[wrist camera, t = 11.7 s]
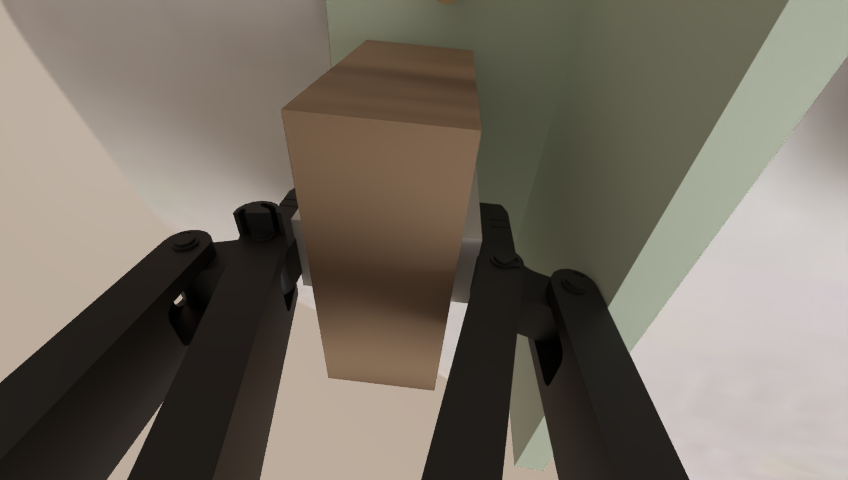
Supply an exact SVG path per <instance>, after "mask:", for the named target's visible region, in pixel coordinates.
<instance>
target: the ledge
mask: <svg viewBox="0 0 848 480" xmlns="http://www.w3.org/2000/svg"><path fill="white" fill-rule="evenodd" d="M326 12H327V23H328V35H329V46H330V58H331V68H332V67H334V66H335V65H336V64H337V63H339V62H340V61H341V60H342V59H343V58H345V57H346V56H347V55H348V54H350V53H351V52H352V51H353V50H355V49H356V48H357V47H358V46H359V45H361V44H362V43H363V42H364V41H366V40H375V41H385V42H394V43H404V44H414V45H424V46H434V47H444V48H453V49H463V50H472V51H473V60H474V68H475V77H476V85H477V94H478V103H479V111H480V120H481V128H482V132H481V138H480V143H479V149H478V154H477V160H476V168H477V180H478V193H479V202H481V203H491V204H500V205H502V206H503V207H504V209H505V210H506V211H507V212H508V215H509V220H510V221H509V223H510V226H511V231H512V236H513V241H514V246H515V251H516V253H517V254H518V255H519V256H520V257H521V258H522V259H523V262H524V266H526V267H527V268H529V269H531V270H533V271H535V272H538V273H540V274H543V275H546V276H549V277H551V275H552V274H553V272H554V271H557V270H559V269H572V270H577V271H579V272H581V273H583V274H586V275H587V276H588V277H589V278H591V279H592V280H593V281H594V282H595V284H596V285H597V287H598V289H599V291H600V293H601V295H602V297H603V299H604V301H605V303H606V306H607V308H608V310H609V312H610V314H611V316H612V318H613V320H614V322H615V324H616V327H617V329H618V331H619V333H620V335H621V337H622V339H623V341H624V343H625V345H626V348H627V350H628V352H629V353H630V352H631V350H632V349H633V348H634V346H635V345H636V344H637V342H638V341H639V339H640V338H641V337H642V335H643V334H644V333H645V331H646V330H647V329H648V327H649V326H650V324H651V323H652V322H653V320H654V319H655V318H656V316H657V315H658V314H659V312H660V311H661V309H662V308H663V307H664V305H665V304H666V303H667V301H668V300H669V299H670V297H671V296H672V294H673V293H674V292H675V290H676V289H677V288H678V286H679V285H680V284H681V282H682V281H683V279H684V278H685V277H686V275H687V274H688V273H689V271H690V270H691V269H692V267H693V266H694V264H695V263H696V262H697V260H698V259H699V258H700V256H701V255H702V254H703V252H704V251H705V249H706V248H707V247H708V245H709V244H710V243H711V241H712V240H713V239H714V237H715V236H716V234H717V233H718V232H719V230H720V229H721V228H722V226H723V225H724V224H725V222H726V221H727V219H728V218H729V217H730V215H731V214H732V213H733V211H734V210H735V209H736V207H737V206H738V204H739V203H740V202H741V200H742V199H743V198H744V196H745V195H746V194H747V192H748V191H749V189H750V188H751V187H752V185H753V184H754V183H755V181H756V180H757V179H758V177H759V176H760V174H761V173H762V172H763V170H764V169H765V168H766V166H767V165H768V164H769V162H770V161H771V160H772V158H773V157H774V155H775V154H776V153H777V151H778V150H779V149H780V147H781V146H782V145H783V143H784V142H785V140H786V139H787V138H788V136H789V135H790V134H791V132H792V131H793V130H794V128H795V127H796V125H797V124H798V123H799V121H800V120H801V119H802V117H803V116H804V115H805V113H806V112H807V110H808V109H809V108H810V106H811V105H812V104H813V102H814V101H815V100H816V98H817V97H818V95H819V94H820V93H821V91H822V90H823V89H824V87H825V86H826V85H827V83H828V82H829V80H830V79H831V78H832V76H833V75H834V74H835V72H836V71H837V70H838V68H839V67H840V65H841V64H842V63H843V61H844V60H845V59H846V57H847V56H848V0H326ZM510 419H511V431H512V442H513V454H514V466H515V467H522V468H529V469H536V470H542V471H543V470H544V469H545V468H546V466H547V465H548V463H549V462H550V461H551V459H552V458H553V457H554V456H553V451H552V447H551V442H550V438H549V433H548V429H547V424H546V419H545V415H544V410H543V406H542V401H541V397H540V392H539V388H538V383H537V378H536V374H535V369H534V365H533V360H532V356H531V351H530V347H529V342H528V337H525V336H523V335H520V334H517V342H516V351H515V361H514V371H513V380H512V390H511V399H510Z"/></svg>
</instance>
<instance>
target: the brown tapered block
mask: <svg viewBox="0 0 848 480" xmlns="http://www.w3.org/2000/svg"><path fill="white" fill-rule="evenodd" d="M281 112H282V118H283V123H284V129H285V135H286V140H287V146H288V152H289V157H290V163H291V169H292V174H293V180H294V185H295V191H296V197H297V202H298V208H299V214H300V219H301V225H302V231H303V236H304V242H305V248H306V253H307V259H308V265H309V270H310V276H311V282H312V287H313V293H314V299H315V304H316V310H317V316H318V321H319V327H320V332H321V338H322V344H323V349H324V354H325V361H326V366H327V372H328V378H334V379H343V380H351V381H360V382H368V383H376V384H384V385H393V386H400V387H409V388H417V389H426V390H434V389H435V383H436V378H437V373H438V367H439V362H440V356H441V351H442V345H443V340H444V334H445V329H446V323H447V318H448V313H449V307H450V302H451V296H452V291H453V285H454V280H455V274H456V269H457V263H458V258H459V252H460V247H461V242H462V236H463V231H464V225H465V220H466V214H467V209H468V203H469V198H470V192H471V187H472V181H473V176H474V170H475V165H476V160H477V154H478V149H479V143H480V138H481V132H482V128H481V120H480V111H479V103H478V94H477V85H476V77H475V68H474V60H473V51H472V50H463V49H453V48H444V47H434V46H424V45H414V44H404V43H394V42H385V41H375V40H366V41H364V42H363V43H362V44H361V45H359V46H358V47H357V48H356V49H355V50H353V51H352V52H351V53H350V54H348V55H347V56H346V57H345V58H343V59H342V60H341V61H340V62H339V63H337V64H336V65H335V66H334V67H332V68H331V69H330V70H329V71H328V72H326V73H325V74H324V75H323V76H321V77H320V78H319V79H318V80H317V81H315V82H314V83H313V84H312V85H310V86H309V87H308V88H307V89H306V90H304V91H303V92H302V93H301V94H299V95H298V96H297V97H296V98H294V99H293V100H292V101H291V102H290V103H288V104H287V105H286V106H285V107H283V108H282V109H281Z"/></svg>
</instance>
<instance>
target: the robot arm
mask: <svg viewBox="0 0 848 480" xmlns="http://www.w3.org/2000/svg"><path fill="white" fill-rule="evenodd" d="M233 215H234V218H235V221H236V224H237V228H238V231H239V234H240V237H239V239H238V240H233V241H224V242H213V241H212V238H211V236H210V235H209V234H208V233H207V232H204V231H201V230H189V231H183V232H180V233H177V234H175V235H172V236H170V237H169V238H167V239H166V240H164V241H163V242H162V243H161V244H160V245H158V246H157V247H156V248H155V249H154V250H153V251H152V252H150V253H149V254H148V255H147V256H146V257H145V258H143V259H142V260H141V261H140V262H139V263H138V264H137V265H136V266H134V267H133V268H132V269H131V270H130V271H128V272H127V273H126V274H125V275H124V276H123V277H122V278H120V279H119V280H118V281H117V282H116V283H115V284H114V285H112V286H111V287H110V288H109V289H108V290H107V291H105V292H104V293H103V294H102V295H101V296H100V297H99V298H97V299H96V300H95V301H94V302H93V303H92V304H90V305H89V306H88V307H87V308H86V309H85V310H84V311H82V312H81V313H80V314H79V315H78V316H77V317H76V318H74V319H73V320H72V321H71V322H70V323H69V324H67V325H66V326H65V327H64V328H63V329H62V330H61V331H59V332H58V333H57V334H56V335H55V336H54V337H52V338H51V339H50V340H49V341H48V342H47V343H46V344H44V346H42V347H41V348H40V349H39V350H38V351H36V352H35V353H34V354H33V355H32V356H31V357H29V358H28V359H27V360H26V361H25V362H24V363H23V364H22V365H20V366H19V367H18V368H17V369H16V370H15V371H13V372H12V373H11V374H10V375H9V376H8V377H6V378H5V379H4V380H3V381H2V382H1V383H0V480H107V478H108V477H109V475H110V474H111V473H112V471H113V470H114V469H115V467H116V466H117V465H118V463H119V462H120V460H121V459H122V457H123V456H124V455H125V454H126V452H127V451H128V449H129V448H130V446H131V445H132V444H133V443H134V441H135V440H136V438H137V437H138V435H139V434H140V433H141V431H142V430H143V429H144V427H145V426H146V425H147V423H148V422H149V420H150V419H151V418H152V416H153V415H154V413H155V412H156V411H157V409H158V408H159V407H160V405H161V404H162V406H161V408H160V410H159V412H158V414H157V416H156V419H155V421H154V423H153V425H152V427H151V429H150V432H149V434H148V436H147V438H146V440H145V442H144V445H143V447H142V449H141V451H140V453H139V455H138V458H137V460H136V462H135V464H134V466H133V468H132V470H131V473H130V475H129V477H128V479H127V480H260V476H261V471H262V466H263V461H264V456H265V451H266V447H267V442H268V436H269V432H270V427H271V422H272V418H273V413H274V408H275V403H276V398H277V393H278V389H279V384H280V379H281V374H282V369H283V364H284V359H285V354H286V350H287V345H288V340H289V335H290V330H291V326H292V321H293V316H294V311H295V306H296V301H297V297H298V288H297V284H296V283H297V281H298V279H299V277H300V275H301V274H302V279H303V284H304V285H307V286H312V282H311V276H310V270H309V265H308V259H307V253H306V248H305V242H304V236H303V231H302V225H301V219H300V214H299V208H298V202H297V197H296V191H295V188H294V189H292V190H290V191H289V193H288V194H287V195H286V196H285V198H284V200H282V202H281V203H280V204H279V206H278V205H277V204H275V203H272V202H267V201H257V202H251V203H248V204H244V205H243V206H241V207H239V208H237V209H236V210H235V212H234V213H233ZM509 221H510V220H509V215H508V212H507V211H506V210H505V209H504V207H503V206H502V205H500V204H491V203H481V202H479V193H478V180H477V168H476V165H475V170H474V176H473V181H472V187H471V192H470V198H469V203H468V209H467V214H466V220H465V225H464V231H463V236H462V242H461V247H460V252H459V258H458V263H457V269H456V274H455V280H454V285H453V291H452V296H451V301H453V302H462V303H468V306H467V310H466V314H465V317H464V321H463V325H462V329H461V332H460V336H459V340H458V344H457V347H456V351H455V355H454V359H453V362H452V366H451V370H450V374H449V378H448V381H447V385H446V389H445V393H444V396H443V400H442V404H441V408H440V412H439V415H438V419H437V423H436V426H435V430H434V434H433V438H432V441H431V446H430V450H429V453H428V456H427V460H426V464H425V468H424V472H423V475H422V479H421V480H502V476H503V466H504V456H505V446H506V437H507V427H508V418H509V409H510V399H511V390H512V380H513V371H514V361H515V351H516V342H517V334H520V335H523V336H525V337H528V342H529V347H530V351H531V356H532V360H533V365H534V369H535V374H536V378H537V383H538V388H539V392H540V397H541V401H542V406H543V410H544V415H545V419H546V424H547V429H548V433H549V438H550V442H551V447H552V451H553V456H554V460H555V465H556V470H557V474H558V479H559V480H689V478H688V476H687V474H686V472H685V470H684V467H683V465H682V463H681V461H680V459H679V457H678V455H677V453H676V451H675V449H674V446H673V444H672V442H671V440H670V438H669V436H668V434H667V432H666V430H665V428H664V425H663V423H662V421H661V419H660V417H659V415H658V413H657V411H656V409H655V406H654V404H653V402H652V400H651V398H650V396H649V394H648V392H647V390H646V388H645V385H644V383H643V381H642V379H641V377H640V375H639V373H638V371H637V369H636V367H635V364H634V362H633V360H632V358H631V356H630V354H629V352H628V350H627V348H626V345H625V343H624V341H623V339H622V337H621V335H620V333H619V331H618V329H617V327H616V324H615V322H614V320H613V318H612V316H611V314H610V312H609V310H608V308H607V306H606V303H605V301H604V299H603V297H602V295H601V293H600V291H599V289H598V287H597V285H596V284H595V282H594V281H593V280H592V279H591V278H589V277H588V276H587V275H586V274H583V273H581V272H579V271H577V270H572V269H559V270H557V271H554V272H553V274H552V275H551V277H549V276H546V275H543V274H540V273H538V272H535V271H533V270H531V269H529V268H527V267H526V266H524V262H523V259H522V258H521V257H520V256H519V255H518V254H517V253H516V251H515V246H514V241H513V236H512V231H511V226H510V223H509ZM180 294H181V295H182V297H183V299H182V300H181V301H180V302H179V303H178V304H176V305H175V304H174V301H175V300H176V299H177V297H178V296H179V295H180ZM469 298H470V299H469ZM162 402H163V403H162Z"/></svg>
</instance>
